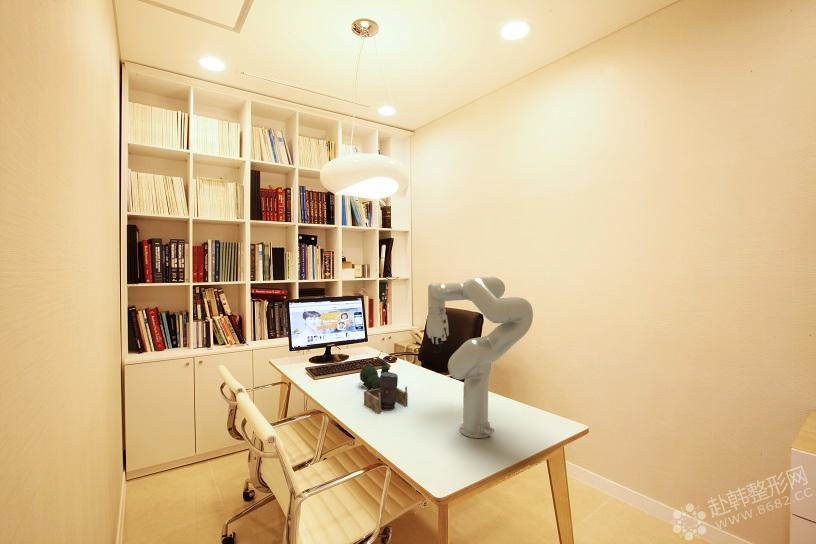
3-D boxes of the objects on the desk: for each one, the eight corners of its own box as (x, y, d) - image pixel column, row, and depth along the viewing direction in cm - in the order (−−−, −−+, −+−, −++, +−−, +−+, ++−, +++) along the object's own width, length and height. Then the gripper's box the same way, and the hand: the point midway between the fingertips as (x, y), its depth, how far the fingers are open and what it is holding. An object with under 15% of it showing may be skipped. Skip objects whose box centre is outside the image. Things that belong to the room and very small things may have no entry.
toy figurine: (393, 397, 187) (368, 380, 207) (395, 360, 185) (370, 346, 205) (377, 401, 181) (353, 383, 201) (379, 363, 179) (354, 349, 199)
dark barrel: (394, 411, 165) (397, 377, 165) (376, 409, 166) (378, 376, 165) (396, 404, 173) (398, 372, 173) (379, 402, 174) (381, 371, 174)
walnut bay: (407, 406, 171) (407, 386, 171) (378, 413, 162) (378, 393, 162) (392, 397, 182) (392, 379, 182) (364, 404, 173) (364, 385, 173)
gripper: (454, 311, 162) (455, 354, 162) (431, 309, 173) (432, 348, 174) (442, 313, 157) (442, 356, 157) (419, 310, 169) (419, 350, 169)
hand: (437, 352), depth 165 cm, fingers closed
